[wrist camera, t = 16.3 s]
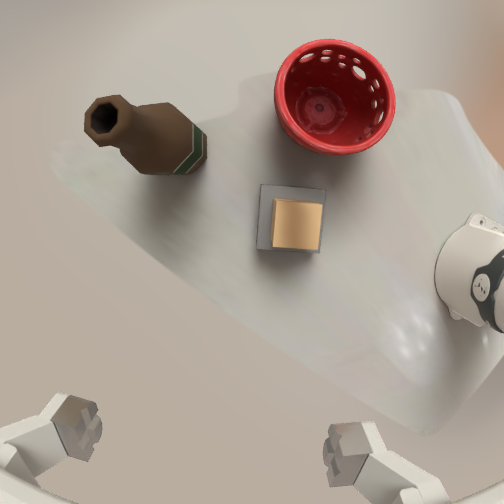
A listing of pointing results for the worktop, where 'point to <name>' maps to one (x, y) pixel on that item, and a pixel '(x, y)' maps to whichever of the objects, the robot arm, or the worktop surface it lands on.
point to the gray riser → (267, 208)
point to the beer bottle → (147, 135)
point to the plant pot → (333, 98)
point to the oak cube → (295, 224)
